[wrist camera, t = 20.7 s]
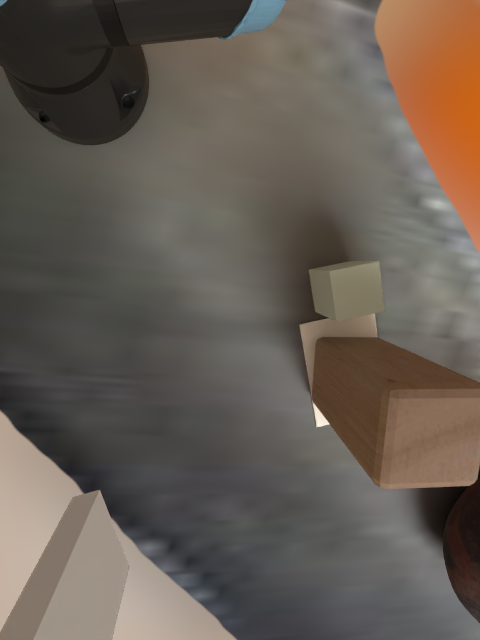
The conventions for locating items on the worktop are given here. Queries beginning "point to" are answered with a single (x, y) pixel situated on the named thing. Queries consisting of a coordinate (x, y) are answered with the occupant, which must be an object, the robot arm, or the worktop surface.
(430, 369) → the wooden block
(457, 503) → the jug
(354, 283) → the sage block
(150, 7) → the robot arm
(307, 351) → the letter
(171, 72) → the worktop surface
